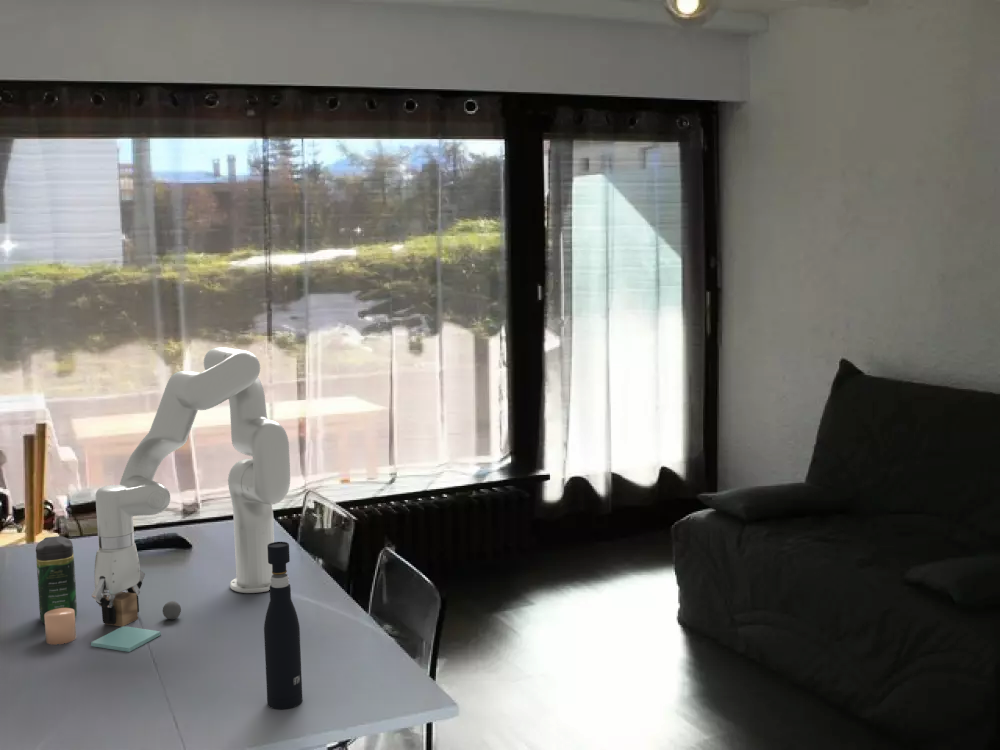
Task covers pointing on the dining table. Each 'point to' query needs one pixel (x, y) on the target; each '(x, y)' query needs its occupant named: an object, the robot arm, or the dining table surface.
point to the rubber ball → (171, 610)
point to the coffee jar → (56, 575)
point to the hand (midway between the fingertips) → (121, 617)
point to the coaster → (126, 638)
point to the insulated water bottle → (282, 635)
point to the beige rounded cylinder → (60, 626)
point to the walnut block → (125, 608)
